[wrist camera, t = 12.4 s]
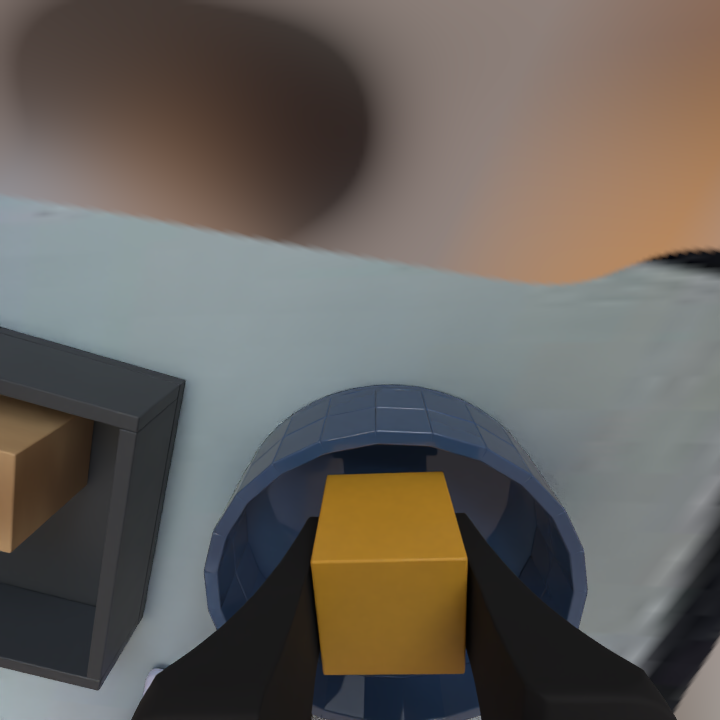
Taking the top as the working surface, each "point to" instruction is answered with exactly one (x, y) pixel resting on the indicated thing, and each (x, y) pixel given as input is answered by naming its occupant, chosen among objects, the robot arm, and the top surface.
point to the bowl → (395, 455)
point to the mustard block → (389, 576)
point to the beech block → (38, 465)
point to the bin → (87, 513)
